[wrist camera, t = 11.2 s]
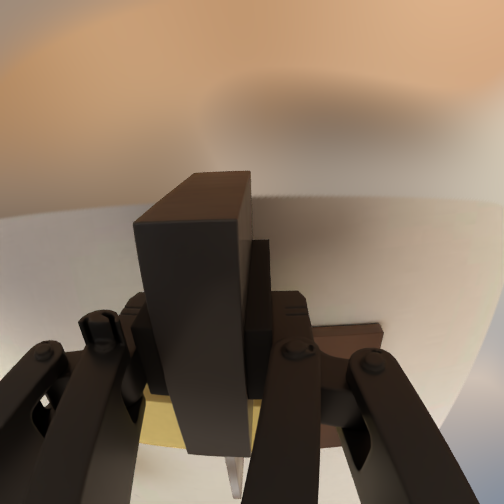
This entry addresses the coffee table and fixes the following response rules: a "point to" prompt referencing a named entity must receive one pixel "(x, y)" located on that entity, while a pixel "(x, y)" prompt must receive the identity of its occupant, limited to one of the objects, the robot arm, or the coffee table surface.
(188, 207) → the knife
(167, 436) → the butter stick
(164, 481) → the coffee table surface
